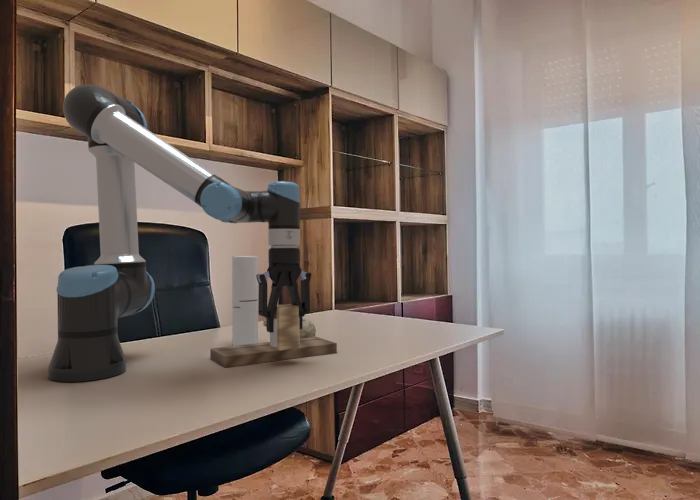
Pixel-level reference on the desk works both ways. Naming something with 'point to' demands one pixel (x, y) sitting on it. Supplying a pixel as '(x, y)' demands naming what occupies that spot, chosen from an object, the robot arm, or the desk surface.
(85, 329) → the robot arm
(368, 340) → the desk surface
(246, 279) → the cylindrical container
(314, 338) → the board
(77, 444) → the desk surface
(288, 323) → the wooden lever on block
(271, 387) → the desk surface
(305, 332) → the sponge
